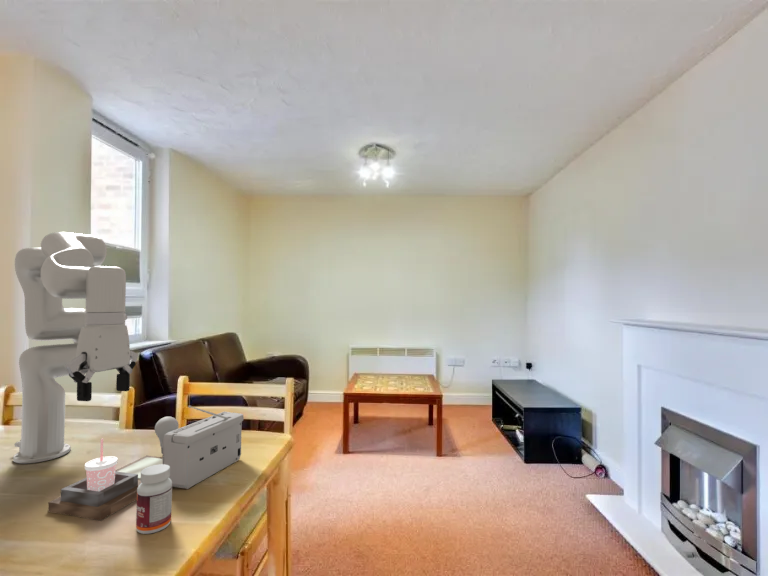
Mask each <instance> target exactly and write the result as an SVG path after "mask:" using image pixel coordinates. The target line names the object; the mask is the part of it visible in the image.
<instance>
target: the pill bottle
mask: <svg viewBox="0 0 768 576" xmlns="http://www.w3.org/2000/svg"><path fill="white" fill-rule="evenodd" d="M169 477H170V466H169V465H165V464H159V465H153V466H149V467H147V468H145V469H143V470H142V471H141V478H140V481H141V482H142V483H141V484H140V485H139V486H138V488H137V500H136V513H135V514H136V515H135V516H136V517H135V521H136V522H135V528H136V531H137V532H138V533H139V534H142V535H149V534H155V533H158V532H161V531H163V530H164V529H166V528H167V527H168V526H169V525H170V524H171V522H172V505H173V502H172V501H173V500H172V499H173V486H172V481H171V479H170V478H169Z"/></svg>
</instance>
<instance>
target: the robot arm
mask: <svg viewBox="0 0 768 576" xmlns="http://www.w3.org/2000/svg"><path fill="white" fill-rule="evenodd" d="M40 242H41V243H40V247H36V246H34V247H33V246H31V247H30V246H29V247H25V248H22V249H19V250H18V251H17V253H16V254H15V257H14V271H15V275H16V278H17V280H18V282H19V284H20V287H21V289H22V293H23V295H24V327H25V333H26V337H27V338H28V339H30V340H31V341H35V342H36V341H37V342H38V341H39V342H40V341H41V342H45V341H47V342H48V341H61V340H65V341H66V340H71V341H72V342H73V343H63V344H60V343H59V344H57V343H56V344H46V345H45V344H44V345H37V346H32V347H29V348H26V349H25V350H23V351H22V353H21V354H20V355H19V359H18V365H19V372H20V378H21V388H22V389H21V390H22V393H21V394H22V395H21V396H22V399H21V402H22V403H21V429H20V430H21V435H20V437H21V438H20V440H19V441H16V442H15V443H14V447H16V448H19V449H18V450H19V451H18V452H16V453H15V454H14V455H13V456H12V460H13V462H14V463H16V464H36V463H42V462H45V461H50V460H54V459H58V458H59V457H63V456H65V455H66V454H68V453H69V452H70V451H71V448H72V447H71V445H70V444H68V443H65V427H66V426H65V424H66V423H65V421H66V420H65V419H66V390H65V388H64V387H63V386H62V385H61V384H60V383H59V382H58V381H56V378H60V377H68V376H69V377H70V378H71V379H72V380H73V382H74V383H75V384H76V401H77V402H90V401H92V391H93V390H92V389H93V386H92V382H91V381H90V380H91V379H92V377H93V375H94V374H95V373H100V372H105V371H112V370H116V371H117V372H118V373H117V374H116V380H115V382H116V385H115V386H116V387H115V388H116V391H117V392H129V391H130V390H131V389H130V387H131V386H130V385H131V384H130V376H131V374H132V373H133V369H134V368H135V366H136V364H137V363H136V362H137V360H138V358H139V354H138V353H137V352H135V351H133V350H131V347H130V346H131V345H130V337H129V329H128V326H127V325H126V320H127V319H128V315H127V314H126V297H127V296H126V293H127V291H126V290H127V286H126V284H127V273H126V271H125V269H123V268H122V267H119V266H110V265H109V266H107V265H105V266H104V265H102V264H103V263H104V262H105V259H106V257H107V253H108V251H107V250H108V249H107V245H106V243H105V241H104V240H103V239H102V238H101V237H100V236H97V235H92V234H85V233H84V234H83V233H76V232H75V233H74V232H67V231H55V232H50V233H48V234H47V235H45V236H44V237H43V238H42V239H41V241H40ZM63 299H64V300H65V299H66V300H67V299H69V300H70V299H73V300H75V299H81V300H82V299H84V300H85V308H80V307H78V308H77V307H68V308H67V307H66V308H65V307H64V306H63Z"/></svg>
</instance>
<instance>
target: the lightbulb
mask: <svg viewBox="0 0 768 576" xmlns="http://www.w3.org/2000/svg"><path fill="white" fill-rule="evenodd" d="M176 429H179V422H178V420H177V419H176V417H172V416H164V417H162V418H159V420H158V421H157V422H156V423H155V425H154V433H155V434H156V437H157V438H158V440H159V446H160V452H161V453H160V454H161V455H163V439H164V435H165V434H166V433H168V432H171V431H173V430H176Z"/></svg>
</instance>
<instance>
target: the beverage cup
mask: <svg viewBox="0 0 768 576" xmlns="http://www.w3.org/2000/svg"><path fill="white" fill-rule="evenodd" d="M99 455H100V457H96V458H93V459H90V460H88V461H86V462H85V464H84V470H85V473H86V478H87V490H92V491H101V490H103V489H105V488H107V487H109V486H111V485H113V484H114V482H115V471H116V470H117V464H118V461H119V460H118V459H119V458H118V457H117V456H114V455H113V456H112V455H109V456H104V438H100V453H99Z"/></svg>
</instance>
